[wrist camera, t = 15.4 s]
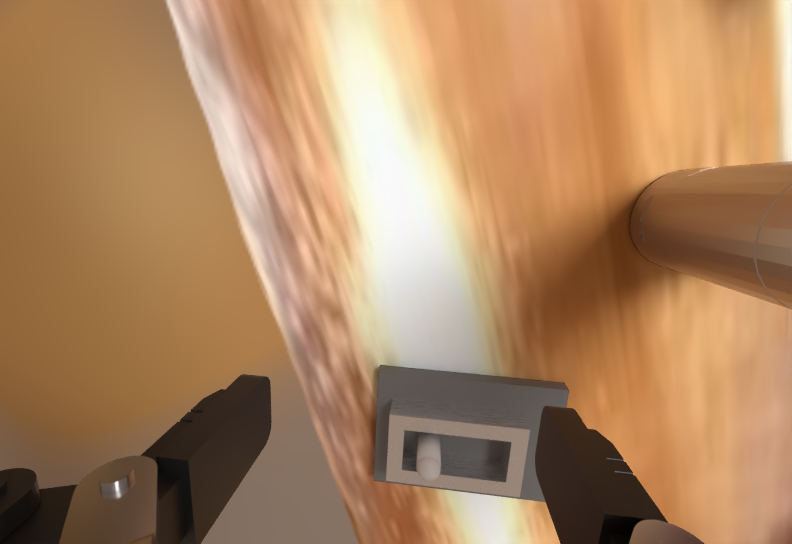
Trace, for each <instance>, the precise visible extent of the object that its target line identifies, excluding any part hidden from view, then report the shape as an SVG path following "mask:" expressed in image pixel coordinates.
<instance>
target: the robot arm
mask: <svg viewBox="0 0 792 544" xmlns="http://www.w3.org/2000/svg"><path fill="white" fill-rule="evenodd" d="M630 230H631V237H632V239H633V242H634V244H635V246H636V248H637V249H638V250H639V252H640V253H641V254H642V255H643V256H644V257H645V258H647V259H648V260H650V261H652V262H654V263H655V264H658V265H661V266H664V267H667V268H670V269H673V270H676V271H679V272H682V273H684V274H687V275H690V276H693V277H696V278H699V279H702V280H705V281H708V282H711V283H714V284H717V285H720V286H723V287H726V288H729V289H732V290H735V291H738V292H741V293H744V294H747V295H750V296H753V297H756V298H759V299H762V300H765V301H768V302H771V303H774V304H777V305H780V306H783V307H786V308H789V309H792V161H790V162H777V163H764V164H751V165H738V166H725V167H710V168H698V169H687V170H680V171H675V172H672V173H669V174H667V175H665V176H663V177H661V178H659V179H657V180H656V181H654V182H653V183H652V184H651V185H650V186H648V187H647V188H646V189H645V191H644V192H643V193H642V194H641V195H640V197H639V198H638V200H637V202H636V204H635V206H634V208H633V212H632V215H631V222H630ZM270 430H271V392H270V380H269V378H268V377H265V376H255V375H245V374H243V375H240V376H239V377H238V378H237V379H236V380H235V381H234V382H233V383H232V384H231V385H230V386H229V387H228V388H227V389H226V390H223V389H221V390H219V391H217V392H215V393H213V394H211V395H209V396H207V397H205V398H204V399H203V400H201V401H200V402H199V403H198V404H197V405H196V406H195V407H194V408H193V409H191V412H188V413H187V414H186V415H185V416H184V417H183V418H182V419H181V420H180V422H177V423H176V424H175V425H174V426H173V427H172V428H170V429H169V430H168V431H167V432H166V433H165V434H164V435H163V436H162V437H161V438H159V439H158V440H157V441H156V442H155V443H154V444H153V445H152V446H151V447H150V448H148V449H147V450H146V451H145V452H144V453H143V454H142V455H141V456H129V457H125V458H120V459H117V460H114V461H111V462H109V463H106V464H104V465H102V466H100V467H99V468H97V469H95V470H94V471H92V472H91V473H89V474H88V475H87V476H86V477H84V478H83V479H82V480H81V481H80V482H79V484H78V485H70V486H62V487H55V488H47V489H39V486H38V482H37V476H36V474H35V472H34V471H32V470H30V469H24V468H14V469H7V470H2V471H0V544H201V542H202V541H203V539H204V537H205V536H206V534H207V533H208V531H209V529H210V528H211V527H212V525H213V524H214V522H215V521H216V519H217V518H218V516H219V515H220V513H221V512H222V510H223V509H224V507H225V506H226V504H227V503H228V501H229V499H230V498H231V497H232V495H233V493H234V492H235V490H236V489H237V487H238V486H239V484H240V483H241V481H242V480H243V478H244V477H245V475H246V474H247V472H248V471H249V469H250V468H251V466H252V465H253V463H254V462H255V460H256V459H257V457H258V456H259V454H260V452H261V451H262V449H263V448H264V446H265V445H266V443H267V440H268V438H269V434H270ZM535 469H536V475H537V479H538V482H539V484H540V487H541V490H542V493H543V496H544V498H545V501H546V504H547V507H548V510H549V512H550V515H551V518H552V521H553V523H554V526H555V529H556V532H557V535H558V537H559V540H560V543H561V544H704V543H703V542H702V541H700V540H699V539H698V538H696V537H695V536H693V535H692V534H691V533H689V532H687V531H685V530H684V529H682V528H680V527H677V526H675V525H673V524H670V523H668V522H667V520H666V519H665V517H664V516H663V515H662V513H661V512H660V510H659V509H658V507H657V506H656V505H655V503H654V502H653V500H652V499H651V498H650V496H649V495H648V493H647V492H646V490H645V489H644V488H643V486H642V485H641V483H640V482H639V481H638V479H637V478H636V476H634V475H633V472H632V471H631V469H630V468H629V466H628V465H627V463H626V462H624V461H623V458H622V456H621V455H620V454H619V452H618V451H617V449H616V448H615V446H614V445H613V444H612V443H611V442H610V441H609V440H607V439H606V438H605V437H604V436H602V435H601V434H600V433H599V432H598V431H596V430H593V429H587V427H586V426H585V424H584V423H583V421H582V420H581V418H580V417H579V415H578V413H577V412H576V411H575V410H574V409H573V408H563V407H553V406H545V407H544V408H543V410H542V414H541V420H540V427H539V433H538V439H537V446H536V452H535Z"/></svg>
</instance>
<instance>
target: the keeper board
mask: <svg viewBox="0 0 792 544" xmlns="http://www.w3.org/2000/svg"><path fill="white" fill-rule="evenodd" d="M568 394H569V389H568V388H567V386H566V385H565V383H560V382H550V381H540V380H529V379H519V378H508V377H498V376H488V375H477V374H467V373H456V372H446V371H435V370H425V369H415V368H404V367H394V366H383V365H380V369H379V373H378V395H377V417H376V439H375V460H374V481H380V482H388V483H396V484H404V485H412V486H420V487H429V488H437V489H445V490H453V491H461V492H469V493H477V494H485V495H493V496H501V497H509V498H517V499H526V500H534V501H542V502H546V501H545V498H544V496H543V493H542V490H541V487H540V484H539V482H538V479H537V475H536V469H535V452H536V446H537V439H538V433H539V427H540V420H541V414H542V410H543V408H544V407H545V406H553V407H563V408H566V405H567V400H568ZM393 398H394V399H403V400H413V401H423V402H432V403H442V404H451V405H461V406H471V407H480V408H490V409H500V410H509V411H519V412H523V413H524V416H525V418H526V421H527V423H528V426H529V428H530V435H529V441H528V448H527V454H526V461H525V467H524V474H523V480H522V487H521V493H520V497H512V496H504V495H496V494H488V493H480V492H472V491H463V490H455V489H447V488H439V487H431V486H423V485H415V484H407V483H399V482H391V481H386V471H387V453H388V435H389V417H390V410H391V405H392V400H393ZM503 442H504V441H498V440H489V439H480V438H471V437H462V436H453V435H444V434H435V433H426V432H417V431H408V430H405V442H404V450H405V451H414V452H417V464H416V469H417V473H418V475H419V476H420V477H421V478H422V479H423V480H425V481H433V480H435V479H436V478H437V477H438V476H439V474H440V471H441V455H448V456H457V457H466V458H474V459H483V460H491V461H500V462H501V456H502V449H503Z"/></svg>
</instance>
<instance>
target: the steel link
mask: <svg viewBox="0 0 792 544" xmlns="http://www.w3.org/2000/svg"><path fill="white" fill-rule="evenodd" d="M405 430H408V431H417V432H426V433H435V434H444V435H453V436H462V437H471V438H480V439H489V440H498V441H504V442H503V449H502V456H501V462H500V461H491V460H483V459H474V458H466V457H457V456H448V455H441V471H440V474H439V476H438V477H437V478H436V479H435V480H433V481H425V480H423V479H422V478H421V477H420V476H419V475H418V473H417V469H416V464H417V452H414V451H405V450H404V442H405ZM529 435H530V428H529V426H528V423H527V421H526V418H525V416H524V413H523V412H519V411H509V410H500V409H490V408H480V407H471V406H461V405H451V404H442V403H432V402H423V401H413V400H403V399H394V398H393V400H392V405H391V410H390V417H389V435H388V453H387V471H386V481H391V482H399V483H407V484H415V485H423V486H431V487H439V488H447V489H455V490H463V491H472V492H480V493H488V494H496V495H504V496H512V497H520V493H521V487H522V480H523V474H524V467H525V461H526V454H527V448H528V441H529Z"/></svg>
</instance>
